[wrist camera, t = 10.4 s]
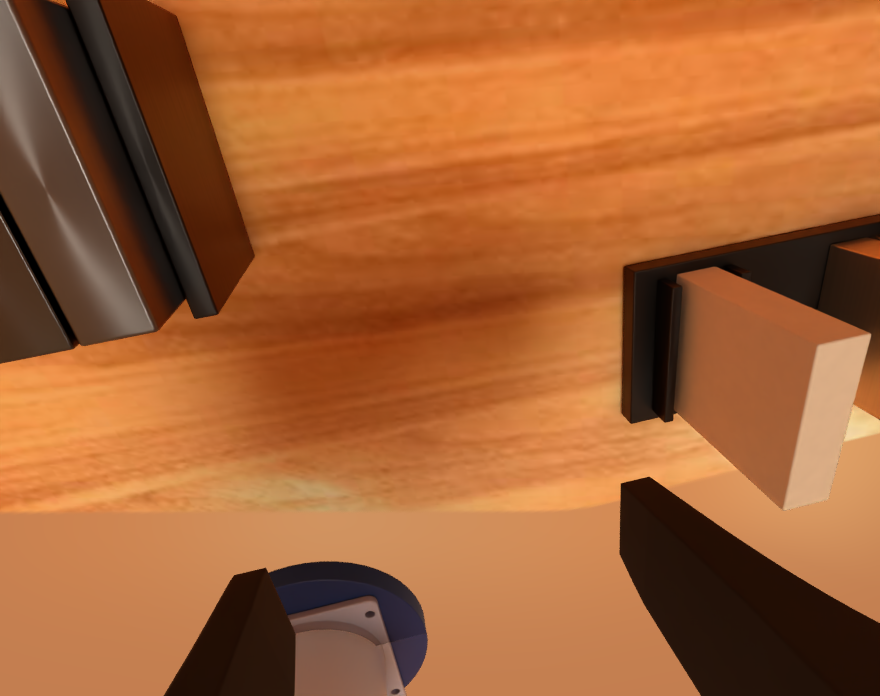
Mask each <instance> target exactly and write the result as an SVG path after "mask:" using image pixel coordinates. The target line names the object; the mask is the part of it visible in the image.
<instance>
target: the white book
mask: <svg viewBox="0 0 880 696" xmlns="http://www.w3.org/2000/svg"><path fill="white" fill-rule="evenodd" d="M676 283H677V284H679V285H681V286H682V301H681V315H680V330H679V344H678V358H677V372H676V387H675V401H674V410H675V411H676V412H677V413H678V414H679V415H680V416H681V417H682V418H683V419H684V420H685V421H687V422H688V423H689V424H690V425H691V426H692V427H693V428H694V429H695V430H696V431H697V432H698V433H700V434H701V435H702V436H703V437H704V438H705V439H706V440H707V441H708V442H709V443H710V444H711V445H713V446H714V447H715V448H716V449H717V450H718V451H719V452H720V453H721V454H722V455H723V456H724V457H725V458H727V459H728V460H729V461H730V462H731V463H732V464H733V465H734V466H735V467H736V468H737V469H738V470H740V471H741V472H742V473H743V474H744V475H745V476H746V477H747V478H748V479H749V480H750V481H751V482H753V483H754V484H755V485H756V486H757V487H758V488H759V489H760V490H761V491H762V492H763V493H764V494H765V495H767V496H768V497H769V498H770V499H771V500H772V501H773V502H774V503H775V504H776V505H777V506H779V508H781V509H782V510H783V511H786V510H790V509H794V508H798V507H802V506H806V505H810V504H814V503H818V502H822V501H826V500H828V498H829V494H830V491H831V487H832V484H833V479H834V476H835V472H836V468H837V464H838V460H839V457H840V453H841V449H842V445H843V441H844V438H845V434H846V430H847V426H848V422H849V418H850V415H851V411H852V407H853V403H854V399H855V395H856V392H857V388H858V384H859V380H860V376H861V372H862V369H863V365H864V361H865V357H866V353H867V349H868V346H869V342H870V338H871V334H870V333H869V332H866V331H864V330H862V329H859V328H857V327H855V326H852V325H850V324H848V323H845V322H843V321H841V320H838V319H836V318H834V317H831V316H829V315H827V314H824V313H822V312H820V311H817V310H815V309H813V308H811V307H808V306H806V305H804V304H801V303H799V302H797V301H794V300H792V299H790V298H787V297H785V296H783V295H780V294H778V293H776V292H773V291H771V290H769V289H766V288H764V287H762V286H759V285H757V284H755V283H752V282H750V281H748V280H746V279H743V278H741V277H739V276H736V275H734V274H732V273H729V272H727V271H725V270H722V269H720V268H718V267H710V268H705V269H700V270H695V271H691V272H686V273H681V274H677V281H676Z"/></svg>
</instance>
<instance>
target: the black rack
mask: <svg viewBox="0 0 880 696" xmlns="http://www.w3.org/2000/svg"><path fill="white" fill-rule="evenodd" d="M710 267H718V268H720V269H722V270H725V271H727V272H729V273H732V274H734V275H736V276H739V277H741V278H743V279H746V280H748V281H750V282H752V283H755V284H757V285H759V286H762V287H764V288H766V289H769V290H771V291H773V292H776V293H778V294H780V295H783V296H785V297H787V298H790V299H792V300H794V301H797V302H799V303H801V304H804V305H806V306H808V307H811V308H813V309H815V310H817V311H820V312H822V313H824V314H827V315H829V316H831V317H834V318H836V319H838V320H841V321H843V322H845V323H848V324H850V325H852V326H855V327H857V328H859V329H862V330H864V331H866V332H869V333H870V334H871V338H870V342H869V346H868V349H867V353H866V357H865V361H864V365H863V369H862V372H861V376H860V380H859V384H858V388H857V392H856V395H855V399H854V403H853V404H854V405H855V406H857V407H859V408H861V409H862V410H864V411H866V412H867V413H869V414H871V415H873V416H874V417H876V418H878V419H879V420H880V215H876V216H871V217H866V218H861V219H856V220H851V221H846V222H841V223H836V224H831V225H827V226H822V227H817V228H812V229H807V230H802V231H797V232H792V233H787V234H782V235H777V236H773V237H768V238H763V239H758V240H753V241H748V242H743V243H738V244H733V245H728V246H723V247H718V248H714V249H709V250H704V251H699V252H694V253H689V254H684V255H679V256H674V257H669V258H664V259H660V260H655V261H650V262H645V263H640V264H635V265H630V266H626V267H625V278H624V344H623V410H622V414H623V416H624V417H625V418H626V419H627V420H628V421H629V422H630V423H631V424H632V423H637V422H641V421H645V420H650V419H654V418H658V417H659V418H661V419H662V420H663V421H664V422H670V421H673V415H674V414H676V413H677V412H676V411H675V410H674V401H675V387H676V372H677V358H678V344H679V330H680V315H681V301H682V286H681V285H679V284H677V283H676V281H677V274H681V273H686V272H691V271H695V270H700V269H705V268H710Z"/></svg>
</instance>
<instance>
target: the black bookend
mask: <svg viewBox="0 0 880 696" xmlns="http://www.w3.org/2000/svg"><path fill="white" fill-rule="evenodd" d="M66 3H67V5H68V7H67V6H65V5H62V4H59V3H56V2H54V1H51V0H0V364H1V363H6V362H11V361H16V360H21V359H26V358H31V357H36V356H41V355H46V354H51V353H56V352H61V351H66V350H71V349H74V348H75V347H76V346H77V345H78V344H80V345H81V346H88V345H93V344H98V343H103V342H108V341H113V340H118V339H123V338H128V337H133V336H138V335H143V334H148V333H153V332H157V331H158V330H160V328H161V327H162V326H163V325H164V324H165V323H166V321H167V320H168V319H169V318H170V317H171V316H172V314H173V313H174V312H175V311H176V310H177V309H178V307H179V306H180V305H181V304H182V303H183V301H184V300H185V299H187V302H188V304H189V307H190V309H191V312H192V314H193V317H194V318H195V319H198V318H203V317H209V316H214V315H217V314H219V312H220V310H221V309H222V307H223V306H224V304H225V303H226V301H227V299H228V298H229V296H230V295H231V293H232V291H233V290H234V288H235V287H236V285H237V284H238V282H239V280H240V279H241V277H242V276H243V274H244V273H245V271H246V269H247V268H248V266H249V265H250V263H251V262H252V260H253V258H254V253H253V250H252V247H251V244H250V241H249V238H248V235H247V232H246V229H245V226H244V223H243V220H242V217H241V213H240V210H239V207H238V204H237V201H236V198H235V195H234V192H233V189H232V186H231V183H230V180H229V177H228V174H227V171H226V167H225V164H224V161H223V158H222V155H221V152H220V149H219V146H218V143H217V140H216V137H215V134H214V131H213V128H212V124H211V121H210V118H209V115H208V112H207V109H206V106H205V103H204V100H203V97H202V94H201V91H200V88H199V85H198V82H197V78H196V75H195V72H194V69H193V66H192V63H191V60H190V57H189V54H188V51H187V48H186V45H185V42H184V39H183V36H182V32H181V29H180V26H179V23H178V20H177V17H176V16H175V15H174V14H172V13H170V12H168V11H166V10H164V9H163V8H161V7H159V6H157V5H155V4H153V3H151V2H149V1H148V0H66Z"/></svg>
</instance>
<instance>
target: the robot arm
mask: <svg viewBox="0 0 880 696" xmlns="http://www.w3.org/2000/svg"><path fill="white" fill-rule="evenodd" d="M620 505H621V507H620V555H621V558H622V560H623V562H624V564H625V566H626V568H627V571H628V572H629V575H630V577H631V579H632V581H633V583H634V585H635V587H636V589H637V591H638V593H639V595H640V597H641V599H642V601H643V603H644V605H645V606H646V608H647V610H648V611H649V613H650V615H651V616H652V618H653V619H654V621H655V622H656V624H657V626H658V628H659V629H660V631H661V632H662V634H663V636H664V637H665V639H666V641H667V642H668V644H669V645H670V647H671V649H672V650H673V652H674V653H675V655H676V657H677V658H678V660H679V661H680V663H681V664H682V666H683V668H684V669H685V671H686V672H687V674H688V676H689V677H690V679H691V680H692V682H693V684H694V685H695V687H696V688H697V690H698V692H699V693H700V695H701V696H880V623H878V622H876V621H874V620H873V619H871V618H869V617H867V616H865V615H863V614H861V613H860V612H858V611H855V610H854V609H852V608H850V607H848V606H847V605H845V604H843V603H841V602H840V601H838V600H836V599H834V598H833V597H831V596H829V595H827V594H826V593H824V592H822V591H821V590H819V589H817V588H816V587H814V586H812V585H810V584H809V583H807V582H806V581H804V580H802V579H801V578H799V577H797V576H796V575H794V574H792V573H791V572H789V571H787V570H786V569H784V568H782V567H781V566H779V565H778V564H776V563H775V562H773V561H772V560H770V559H768V558H767V557H765V556H764V555H762V554H761V553H759V552H758V551H756V550H755V549H753V548H752V547H750V546H748V545H747V544H746V543H744V542H743V541H741V540H739V539H738V538H737V537H735V536H733V535H732V534H731V533H729V532H728V531H726V530H725V529H723V528H722V527H720V526H719V525H717V524H716V523H714V522H713V521H712V520H710V519H709V518H707V517H706V516H704V515H703V514H702V513H700V512H699V511H697V510H696V509H694V508H693V507H692V506H690V505H689V504H687V503H686V502H685V501H683V500H682V499H680V498H679V497H677V496H676V495H675V494H673V493H672V492H670V491H669V490H668V489H666V488H665V487H663V486H662V485H660V484H659V483H658V482H656V481H655V480H653V479H652V478H650V477H646V478H642V479H638V480H634V481H629V482H625V483H621V504H620ZM164 696H406V691H405V688H404V685H403V681H402V678H401V675H400V672H399V669H398V665H397V662H396V659H395V656H394V653H393V649H392V646H391V643H390V640H389V636H388V633H387V630H386V627H385V624H384V620H383V617H382V614H381V611H380V608H379V604H378V601H377V599H376V598H375V597H373V596H363V597H359V598H355V599H351V600H347V601H343V602H339V603H335V604H331V605H327V606H323V607H319V608H315V609H311V610H307V611H303V612H299V613H295V614H291V615H287V614H286V612H285V609H284V607H283V605H282V603H281V600H280V598H279V596H278V594H277V591H276V589H275V587H274V585H273V582H272V580H271V578H270V576H269V573H268V571H267V569H266V568H263V569H259V570H255V571H250V572H246V573H242V574H238V575H234V576H233V578H232V580H230V582H229V584H228V586H227V588H226V589H225V591H224V593H223V595H222V596H221V598H220V600H219V602H218V603H217V605H216V607H215V609H214V611H213V612H212V614H211V616H210V618H209V619H208V621H207V623H206V625H205V627H204V628H203V630H202V632H201V634H200V635H199V637H198V639H197V641H196V642H195V644H194V646H193V648H192V650H191V651H190V653H189V654H188V656H187V658H186V659H185V661H184V663H183V664H182V666H181V668H180V669H179V671H178V673H177V674H176V676H175V678H174V680H173V681H172V683H171V684H170V686H169V688H168V689H167V691H166V693H165V695H164Z"/></svg>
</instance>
